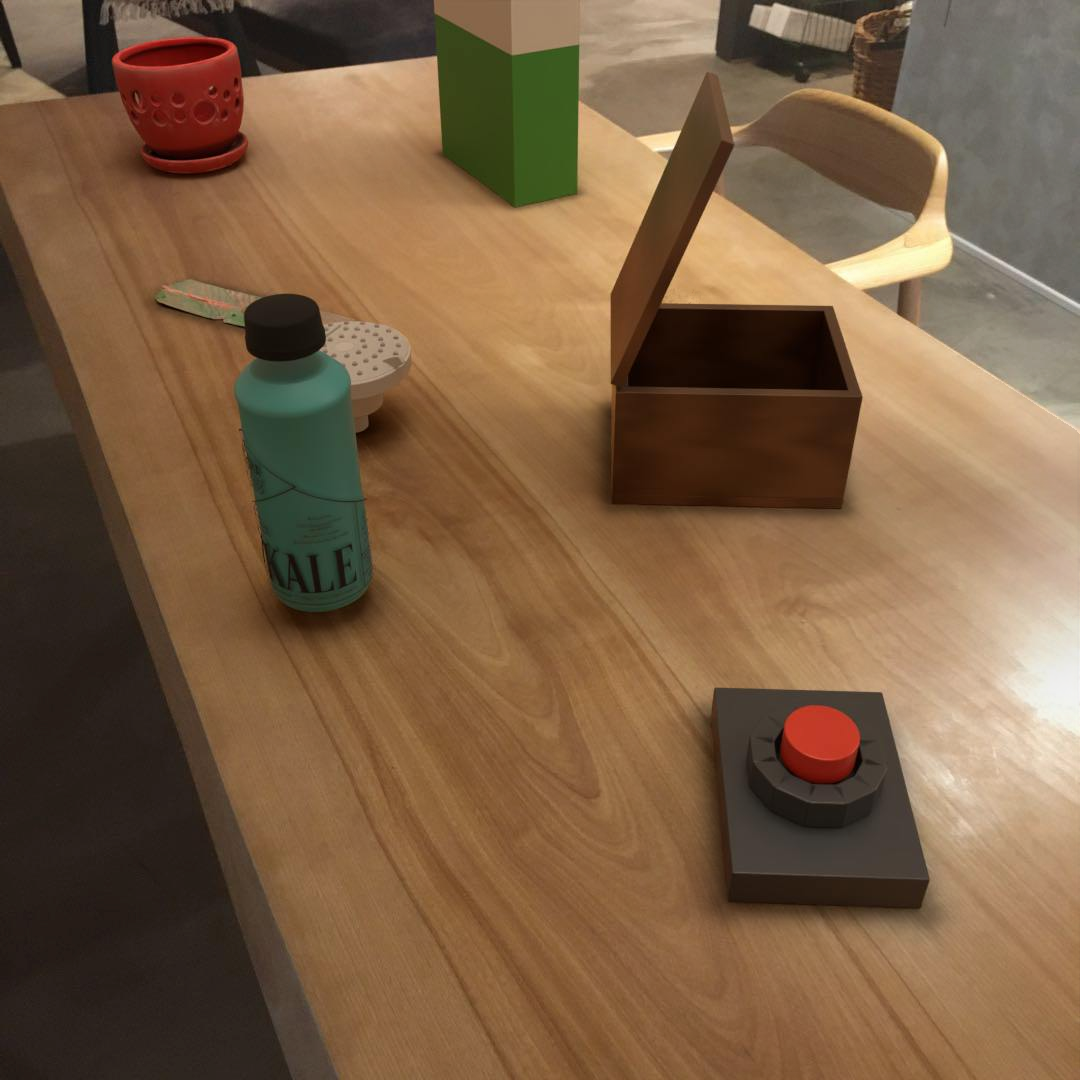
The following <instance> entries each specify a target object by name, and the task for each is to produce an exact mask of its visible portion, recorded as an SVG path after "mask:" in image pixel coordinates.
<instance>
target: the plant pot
mask: <svg viewBox="0 0 1080 1080" xmlns="http://www.w3.org/2000/svg"><path fill="white" fill-rule="evenodd" d="M111 64H112V67H113V68H112V69H113V73H114V74H113V75H114V78H115V82H116V86H117V89H118V92H119V96H120V98H121V102H122V105H123V108H124V110H125V112H126V115H127V116H128V118H129V121H130V123H131V125H132V126H133V128H134V130H135V131H136V133H137V134H138V135H139V137H140V139H141V140H142V141H143V142H144V144H143V145H142V146H141V148H140V149H141V150H140V152H141V156H142V158H143V160H144V161H145V162H146V163H147V164H148V165H149V166H151V167H153V168H155V169H157V170H158V171H163V172H166V173H170V174H185V175H186V174H189V175H190V174H201V173H208V172H214V171H218V170H221V169H223V168H230V167H232V166H233V164H234V163H236V162H237V161H239V160H240V159H241V158H242V157H243V156H244V154H245V153H246V152H247V149H248V146H249V140H248V137H247V135H246V134H245V133H243V132H242V131H240V129H241V128H240V127H241V125H242V121H243V115H244V106H245V104H244V103H245V97H244V90H243V89H244V87H243V80H242V68H241V61H240V56H239V52H238V48H237V46H236V44H234V43H233V42H232V41H230V40H227V39H223V38H219V37H213V36H212V37H209V36H183V37H182V36H181V37H168V38H161V39H155V40H150V41H145V42H141V43H138V44H135V45H132V46H129V47H126V48H124V49H122V50H120V51H118V52H117V53H115V54H114V55H113V57H112V59H111ZM136 98H137V99H138V101H137V99H136Z"/></svg>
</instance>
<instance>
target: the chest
mask: <svg viewBox="0 0 1080 1080" xmlns="http://www.w3.org/2000/svg"><path fill="white" fill-rule="evenodd" d="M863 398H864V397H863V393H862V391H861V388H860V384H859V382H858V378H857V376H856V373H855V370H854V366H853V364H852V361H851V357H850V354H849V351H848V348H847V345H846V342H845V339H844V335H843V332H842V329H841V326H840V324H839V320H838V317H837V313H836V311H835V307H834V306H833V305H811V304H809V305H808V304H807V305H806V304H805V305H802V304H799V305H798V304H744V303H743V304H741V303H740V304H736V303H733V304H732V303H676V302H675V303H673V302H672V303H671V302H670V303H668V302H665V303H664V302H661V305H660V307H659V309H658V311H657V313H656V315H655V317H654V320H653V322H652V324H651V326H650V328H649V330H648V333H647V335H646V337H645V339H644V341H643V343H642V345H641V348H640V350H639V352H638V354H637V356H636V358H635V360H634V363H633V365H632V367H631V369H630V371H629V373H628V376H627V378H626V380H625V382H624V384H623V386H622V387H618V386H615V385H613V384H611V405H610V409H611V413H610V415H611V416H610V417H611V419H610V420H611V421H610V422H611V427H610V428H611V433H610V434H611V435H610V436H611V441H610V442H611V451H610V452H611V504H613V505H614V504H615V505H617V504H619V505H620V504H622V505H661V506H662V505H665V506H705V507H708V506H710V507H713V506H714V507H752V508H753V507H755V508H756V507H757V508H800V509H801V508H805V509H842V508H843V506H844V505H843V504H844V498H845V495H846V488H847V483H848V477H849V473H850V467H851V462H852V456H853V451H854V446H855V440H856V435H857V430H858V425H859V419H860V414H861V410H862V409H861V408H862V404H863Z"/></svg>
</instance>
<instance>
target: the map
mask: <svg viewBox="0 0 1080 1080" xmlns="http://www.w3.org/2000/svg"><path fill="white" fill-rule="evenodd" d="M159 290H160V291H158V293H157V294H156V295H155V296H154V297H155V300H156V301H157V302H158V303H161V304H164V305H166V306H169V307H171V308H175V309H178V310H181V311H184V312H187V313H190V314H194V315H197V316H201V317H203V318H207V319H212V320H223V323H225V324H226V323H227V324H231V325H235V326H240V327H245V324H244V312H245V309H246V308H247V307H248V306H249V305H250V304H251V303H252V302H254V301H256V300H258V299H260V298H263V297H264V296H257V295H254V294H250V293H245V292H240V291H237V290H232V289H229V288H225V287H221V286H217V285H212V284H209V283H206V282H201V281H198V280H195V279H192V278H188V279H186V280H183V281H182V282H181V281H176V282H175V283H173V284H171V283H170V284H168V285H165V284H162V285H161V287H160V289H159ZM319 310H320V314H321V319H322V324H323V325H325V324H328V323H337V322H344V321H356V320H357V319H356V318H353V317H349V316H344V315H340V314H337V313H333V312H329V311H326V310H322V309H319Z"/></svg>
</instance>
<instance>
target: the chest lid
mask: <svg viewBox="0 0 1080 1080" xmlns="http://www.w3.org/2000/svg"><path fill="white" fill-rule="evenodd" d="M721 86H722V85H721V83H720V78H719V75H717V74H715V73H713V72H710V71H706V73H705V75H704V77H703V79H702V82H701V84H700V87H699V89H698V91H697V93H696V96H695V98H694V100H693V103H692V105H691V107H690V110H689V112H688V114H687V116H686V119H685V121H684V123H683V126H682V128H681V130H680V132H679V135H678V137H677V139H676V142H675V144H674V146H673V149H672V150H671V153H670V156H669V157H668V160H667V162H666V165H665V167H664V170H663V172H662V174H661V176H660V179H659V180H658V183H657V185H656V188H655V190H654V193H653V195H652V197H651V200H650V201H649V204H648V207H647V209H646V210H645V214H644V215H643V218H642V220H641V223H640V224H639V227H638V230H637V232H636V234H635V236H634V239H633V241H632V244H631V245H630V248H629V250H628V252H627V255H626V257H625V260H624V262H623V264H622V266H621V269H620V271H619V274H618V276H617V278H616V281H615V283H614V285H613V288H612V290H611V292H610V384H611V385H612V384H613V385H615V386H618V387H622V386H623V384H624V382H625V380H626V378H627V376H628V373H629V371H630V369H631V367H632V365H633V363H634V360H635V358H636V356H637V354H638V352H639V350H640V348H641V345H642V343H643V341H644V339H645V337H646V335H647V333H648V330H649V328H650V326H651V324H652V322H653V320H654V317H655V315H656V313H657V311H658V309H659V307H660V305H661V303H663V301H664V299H665V296H666V294H667V292H668V289H669V287H670V286H671V283H672V281H673V279H674V277H675V274H676V273H677V271H678V268H679V266H680V264H681V262H682V260H683V258H684V255H685V253H686V251H687V249H688V246H689V244H690V242H691V241H692V238H693V236H694V233H695V232H696V230H697V227H698V225H699V223H700V221H701V219H702V216H703V214H704V212H705V210H706V207H707V205H708V203H709V202H710V199H711V197H712V195H713V193H714V190H715V189H716V186H717V184H718V182H719V180H720V178H721V175H722V173H723V171H724V169H725V167H726V165H727V162H728V160H729V158H730V157H731V154H732V152H733V149H734V147H735V141H734V137H733V136H734V135H733V133H732V128H731V124H730V120H729V116H728V111H727V108H726V103H725V99H724V94H723V90H722V87H721Z"/></svg>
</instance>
